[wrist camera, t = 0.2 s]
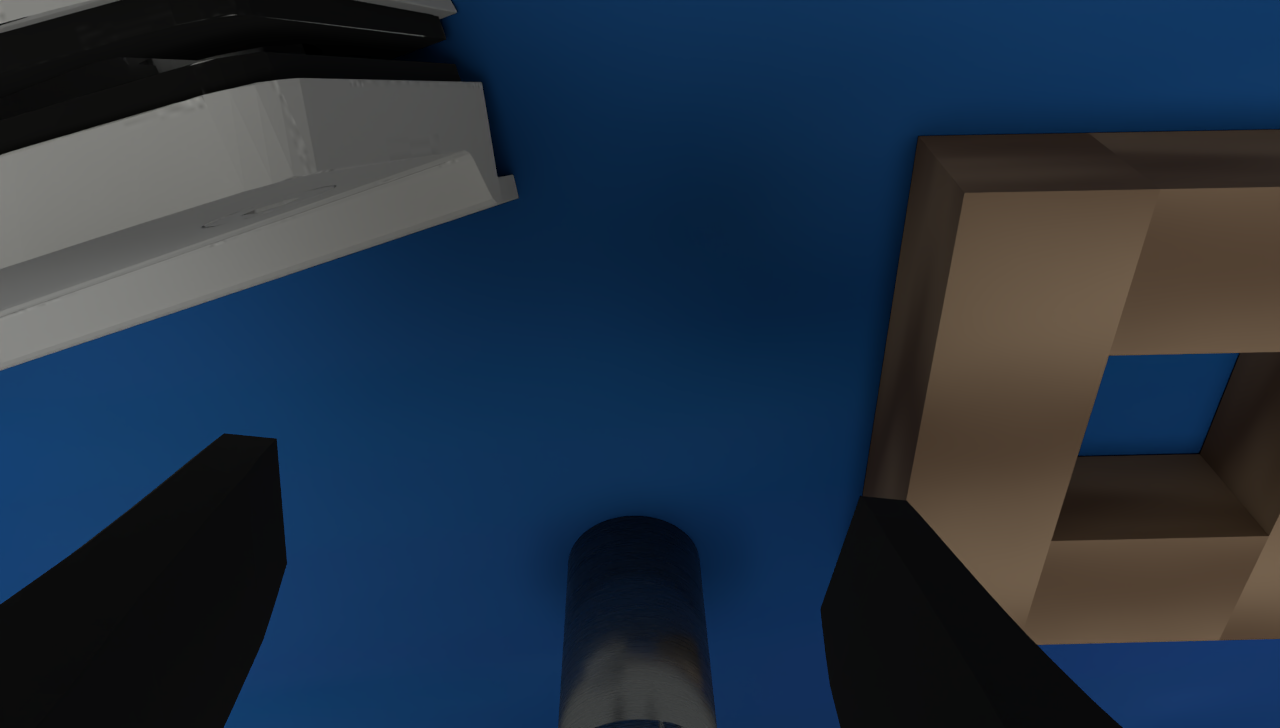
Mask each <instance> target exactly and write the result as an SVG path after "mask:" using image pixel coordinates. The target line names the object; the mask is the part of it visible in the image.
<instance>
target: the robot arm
mask: <svg viewBox="0 0 1280 728" xmlns="http://www.w3.org/2000/svg"><path fill="white" fill-rule="evenodd" d="M286 565H287V559H286V547H285V535H284V523H283V511H282V499H281V487H280V474H279V462H278V450H277V439H274V438H264V437H254V436H244V435H233V434H223V435H222V436H220V437H219V438H218V439H216V440H215V441H214V442H213V443H211V444H210V445H209V446H207V447H206V448H205V449H204V450H202V451H201V452H200V453H199V454H197V455H196V456H195V457H194V458H192V459H191V460H190V461H189V462H188V463H186V464H185V465H184V466H183V467H181V468H180V469H179V470H178V471H176V472H175V473H174V474H173V475H172V476H170V477H169V478H168V479H167V480H165V481H164V482H163V483H162V484H161V485H159V486H158V487H157V488H156V489H154V490H153V491H152V492H151V493H149V494H148V495H147V496H146V497H144V498H143V499H142V500H141V501H139V502H138V503H137V504H136V505H134V506H133V507H132V508H131V509H129V510H128V511H127V512H126V513H124V514H123V515H122V516H120V517H119V518H118V519H117V520H115V521H114V522H113V523H111V524H110V525H109V526H107V527H106V528H105V529H104V530H102V531H101V532H100V533H98V534H97V535H96V536H95V537H93V538H92V539H91V540H89V541H88V542H87V543H86V544H84V545H83V546H82V547H80V548H79V549H78V550H76V551H75V552H74V553H72V554H71V555H70V556H68V557H67V558H65V559H64V560H63V561H61V562H60V563H58V564H57V565H56V566H54V567H53V568H51V569H50V570H49V571H47V572H46V573H44V574H43V575H41V576H40V577H39V578H37V579H36V580H34V581H33V582H32V583H30V584H29V585H27V586H26V587H25V588H23V589H22V590H20V591H19V592H17V593H16V594H15V595H13V596H12V597H10V598H9V599H8V600H6V601H5V602H3V603H2V604H0V728H224V726H225V723H226V721H227V719H228V717H229V715H230V712H231V710H232V708H233V706H234V704H235V702H236V699H237V697H238V695H239V693H240V690H241V688H242V686H243V684H244V682H245V679H246V677H247V675H248V673H249V671H250V668H251V666H252V664H253V662H254V659H255V657H256V655H257V653H258V650H259V648H260V646H261V644H262V641H263V639H264V636H265V632H266V629H267V626H268V623H269V620H270V617H271V614H272V611H273V608H274V605H275V601H276V598H277V595H278V591H279V588H280V585H281V581H282V578H283V575H284V571H285V568H286ZM821 618H822V627H823V636H824V644H825V653H826V660H827V667H828V674H829V681H830V687H831V691H832V695H833V699H834V703H835V707H836V711H837V715H838V719H839V723H840V727H841V728H1122V727H1121V726H1120V725H1119V724H1118V723H1117V722H1116V721H1114V720H1113V719H1112V718H1111V717H1110V716H1109V715H1108V714H1107V713H1106V712H1105V711H1104V710H1103V709H1101V708H1100V707H1099V706H1098V705H1097V704H1096V703H1095V702H1094V701H1093V700H1092V699H1091V698H1090V697H1089V696H1088V695H1087V694H1086V693H1085V692H1084V691H1083V690H1082V689H1081V688H1080V687H1079V686H1078V685H1077V684H1075V683H1074V682H1073V681H1072V680H1071V679H1070V678H1069V677H1068V676H1067V675H1066V674H1065V673H1064V672H1063V671H1062V670H1061V669H1060V668H1059V667H1058V666H1057V665H1056V664H1055V663H1054V662H1053V661H1052V660H1051V659H1050V658H1049V657H1048V656H1047V655H1046V654H1045V653H1044V652H1043V651H1042V650H1041V649H1040V648H1039V646H1038V645H1037V644H1036V643H1035V642H1034V641H1033V640H1032V639H1031V638H1030V637H1029V636H1028V635H1027V634H1026V633H1025V632H1024V631H1023V630H1022V629H1021V628H1020V627H1019V625H1018V624H1017V623H1016V622H1015V621H1014V620H1013V619H1012V618H1011V617H1010V616H1009V615H1008V614H1007V613H1006V611H1005V610H1004V609H1003V608H1002V607H1001V606H1000V605H999V604H998V603H997V602H996V600H995V599H994V598H993V597H992V596H991V595H990V594H989V593H988V592H987V590H986V589H985V588H984V587H983V586H982V585H981V584H980V583H979V582H978V580H977V579H976V578H975V577H974V576H973V575H972V574H971V572H970V571H969V570H968V569H967V568H966V567H965V566H964V564H963V563H962V562H961V561H960V560H959V559H958V558H957V556H956V555H955V554H954V553H953V552H952V551H951V550H950V548H949V547H948V546H947V545H946V544H945V543H944V542H943V540H942V539H941V538H940V537H939V536H938V535H937V534H936V532H935V531H934V530H933V529H932V528H931V527H930V526H929V524H928V523H927V522H926V521H925V520H924V519H923V518H922V517H921V515H920V514H919V513H918V512H917V511H916V510H915V509H914V508H913V507H912V506H911V505H910V503H909V502H908V501H907V500H896V499H886V498H876V497H866V496H860V498H859V501H858V504H857V506H856V509H855V512H854V515H853V518H852V521H851V524H850V526H849V529H848V532H847V535H846V538H845V541H844V544H843V546H842V549H841V552H840V555H839V558H838V561H837V564H836V566H835V569H834V572H833V575H832V578H831V581H830V584H829V586H828V589H827V592H826V595H825V598H824V601H823V604H822V606H821Z"/></svg>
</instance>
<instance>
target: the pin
mask: <svg viewBox="0 0 1280 728" xmlns="http://www.w3.org/2000/svg"><path fill="white" fill-rule="evenodd" d="M558 728H717V725H716V715H715V705H714V696H713V686H712V676H711V667H710V657H709V647H708V638H707V628H706V618H705V609H704V599H703V589H702V580H701V570H700V560H699V555H698V551H697V549H696V547H695V545H694V543H693V542H692V540H691V539H690V538H689V537H688V536H687V535H686V534H685V533H684V532H683V531H681V530H680V529H679V528H677V527H675V526H674V525H672V524H669V523H667V522H665V521H662V520H659V519H654V518H649V517H640V516H630V517H621V518H615V519H612V520H608V521H605V522H603V523H600V524H598V525H596V526H594V527H592V528H591V529H590V530H588V531H587V532H585V533H584V534H583V535H582V536H581V537H580V538H579V539H578V540H577V542H576V543H575V545H574V546H573V548H572V550H571V553H570V556H569V561H568V577H567V593H566V609H565V626H564V642H563V658H562V675H561V691H560V707H559V724H558Z"/></svg>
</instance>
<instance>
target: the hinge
mask: <svg viewBox="0 0 1280 728" xmlns="http://www.w3.org/2000/svg"><path fill="white" fill-rule="evenodd" d="M455 13H457V11H456V9H455V7H454V5H453V4H452V2H451V0H0V370H3V369H6V368H9V367H12V366H15V365H18V364H21V363H24V362H27V361H30V360H33V359H36V358H39V357H42V356H45V355H48V354H51V353H54V352H57V351H60V350H63V349H66V348H69V347H72V346H75V345H78V344H81V343H84V342H87V341H90V340H93V339H96V338H99V337H102V336H105V335H108V334H111V333H114V332H117V331H120V330H123V329H126V328H129V327H132V326H135V325H138V324H141V323H144V322H147V321H151V320H154V319H157V318H160V317H163V316H166V315H169V314H172V313H175V312H178V311H181V310H184V309H187V308H190V307H193V306H196V305H199V304H202V303H205V302H208V301H211V300H214V299H217V298H220V297H223V296H226V295H229V294H232V293H235V292H238V291H241V290H244V289H247V288H250V287H253V286H256V285H259V284H262V283H265V282H268V281H271V280H274V279H277V278H280V277H283V276H286V275H289V274H292V273H295V272H298V271H301V270H304V269H307V268H310V267H313V266H316V265H319V264H322V263H325V262H328V261H331V260H334V259H337V258H340V257H343V256H346V255H349V254H352V253H355V252H358V251H361V250H364V249H367V248H370V247H373V246H376V245H379V244H382V243H385V242H388V241H391V240H394V239H397V238H400V237H403V236H406V235H409V234H412V233H415V232H418V231H421V230H424V229H427V228H430V227H433V226H436V225H439V224H442V223H445V222H448V221H451V220H454V219H457V218H460V217H463V216H466V215H469V214H472V213H475V212H478V211H481V210H484V209H487V208H490V207H493V206H496V205H499V204H502V203H505V202H508V201H511V200H514V199H517V198H519V197H518V192H517V188H516V184H515V180H514V176H513V175H508V176H502V177H498V176H497V171H496V165H495V159H494V153H493V147H492V141H491V135H490V128H489V122H488V116H487V110H486V104H485V98H484V92H483V86H482V83H481V82H461V79H460V76H459V73H458V71H457V68H456V65H455V64H447V63H432V62H416V61H401V60H391V59H394V58H396V57H399V56H402V55H405V54H407V53H410V52H413V51H416V50H418V49H421V48H424V47H427V46H429V45H432V44H435V43H438V42H440V41H443V40H446V36H445V34H444V31H443V28H442V25H441V22H440V19H442V18H444V17H447V16H450V15H452V14H455Z"/></svg>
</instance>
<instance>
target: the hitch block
mask: <svg viewBox="0 0 1280 728" xmlns="http://www.w3.org/2000/svg"><path fill="white" fill-rule="evenodd" d="M1203 353H1240V355H1239V358H1238V360H1237V363H1236V365H1235V368H1234V370H1233V373H1232V375H1231V378H1230V380H1229V383H1228V385H1227V388H1226V390H1225V392H1224V395H1223V397H1222V400H1221V402H1220V405H1219V407H1218V410H1217V412H1216V415H1215V417H1214V420H1213V422H1212V425H1211V427H1210V430H1209V432H1208V435H1207V437H1206V440H1205V442H1204V445H1203V447H1202V450H1201V452H1200V454H1182V455H1137V456H1091V457H1077V456H1078V453H1079V450H1080V447H1081V443H1082V440H1083V437H1084V434H1085V430H1086V427H1087V424H1088V421H1089V418H1090V414H1091V411H1092V408H1093V405H1094V401H1095V398H1096V395H1097V392H1098V389H1099V385H1100V382H1101V379H1102V376H1103V372H1104V369H1105V366H1106V363H1107V360H1108V356H1109V355H1155V354H1203ZM863 496H866V497H876V498H886V499H896V500H907V501H908V502H909V503H910V505H911V506H912V507H913V508H914V509H915V510H916V511H917V512H918V513H919V514H920V515H921V517H922V518H923V519H924V520H925V521H926V522H927V523H928V524H929V526H930V527H931V528H932V529H933V530H934V531H935V532H936V534H937V535H938V536H939V537H940V538H941V539H942V540H943V542H944V543H945V544H946V545H947V546H948V547H949V548H950V550H951V551H952V552H953V553H954V554H955V555H956V556H957V558H958V559H959V560H960V561H961V562H962V563H963V564H964V566H965V567H966V568H967V569H968V570H969V571H970V572H971V574H972V575H973V576H974V577H975V578H976V579H977V580H978V582H979V583H980V584H981V585H982V586H983V587H984V588H985V589H986V590H987V592H988V593H989V594H990V595H991V596H992V597H993V598H994V599H995V600H996V602H997V603H998V604H999V605H1000V606H1001V607H1002V608H1003V609H1004V610H1005V611H1006V613H1007V614H1008V615H1009V616H1010V617H1011V618H1012V619H1013V620H1014V621H1015V622H1016V623H1017V624H1018V625H1019V627H1020V628H1021V629H1022V630H1023V631H1024V632H1025V633H1026V634H1027V635H1028V636H1029V637H1030V638H1031V639H1032V640H1033V641H1034V642H1035V643H1036V644H1037V645H1043V644H1084V643H1125V642H1166V641H1207V640H1248V639H1280V130H1227V131H1173V132H1118V133H1063V134H1008V135H953V136H918V142H917V148H916V155H915V161H914V168H913V174H912V181H911V187H910V193H909V200H908V206H907V213H906V219H905V226H904V232H903V239H902V245H901V251H900V258H899V264H898V271H897V277H896V284H895V290H894V296H893V303H892V309H891V316H890V322H889V329H888V335H887V342H886V348H885V354H884V361H883V367H882V374H881V380H880V387H879V393H878V399H877V406H876V412H875V419H874V425H873V432H872V438H871V445H870V451H869V457H868V464H867V470H866V477H865V483H864V490H863Z"/></svg>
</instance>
